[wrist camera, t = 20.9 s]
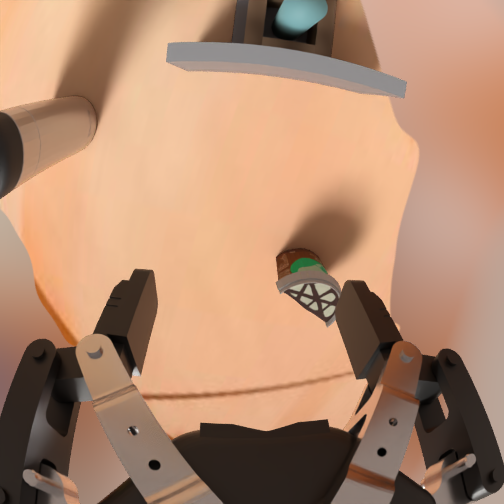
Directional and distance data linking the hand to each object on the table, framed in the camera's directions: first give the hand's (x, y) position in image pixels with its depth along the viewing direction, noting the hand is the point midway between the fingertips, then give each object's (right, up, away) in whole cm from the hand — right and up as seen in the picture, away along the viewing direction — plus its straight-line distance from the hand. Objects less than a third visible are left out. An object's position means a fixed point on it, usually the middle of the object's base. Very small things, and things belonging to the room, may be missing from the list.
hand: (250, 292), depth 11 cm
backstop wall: (+4, +26, +20) cm, 33 cm away
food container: (+10, 0, +36) cm, 38 cm away
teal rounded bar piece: (+4, +30, +15) cm, 34 cm away
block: (+4, +30, +15) cm, 34 cm away
